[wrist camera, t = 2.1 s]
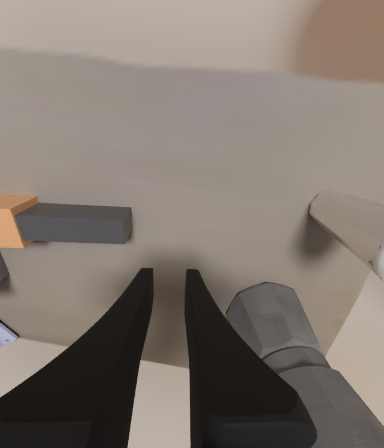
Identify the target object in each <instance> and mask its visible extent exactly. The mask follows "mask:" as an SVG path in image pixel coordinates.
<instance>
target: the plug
mask: <svg viewBox="0 0 384 448" xmlns="http://www.w3.org/2000/svg"><path fill="white" fill-rule="evenodd" d="M131 231H132V214H131V207H111V206H90V205H69V204H49V203H39V202H38V198H37V196H17V195H0V247H3V248H25V247H26V246H27V245H29V244H30V243H32V242H33V241H53V242H82V243H112V244H125V243H126V241H127V239H128V237H129V235H130V233H131Z"/></svg>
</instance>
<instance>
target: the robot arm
mask: <svg viewBox="0 0 384 448" xmlns="http://www.w3.org/2000/svg"><path fill="white" fill-rule="evenodd" d="M153 296H154V293H153V268H141V269H140V270H139V272H138V274H137V275H136V277H135V278H134V279H133V281H132V282H131V284H130V285H129V286H128V287H127V289H126V290H125V291H124V293H123V294H122V295H121V296H120V297H119V299H118V300H117V301H116V302H115V303H114V304H113V305H112V307H111V308H110V309H109V310H108V311H107V312H106V313H105V314H104V315H103V316H102V317H101V318H100V319H99V320H98V321H97V322H96V323H95V324H94V325H93V326H92V327H91V328H90V329H89V330H88V331H87V332H86V333H85V334H83V335H82V336H81V337H80V338H79V339H78V340H77V341H76V342H74V343H73V344H72V345H71V346H70V347H68V348H67V349H66V350H65V351H63V352H62V353H61V354H60V355H59V356H57V357H56V358H55V359H53V360H52V361H51V362H50V363H48V364H47V365H46V366H45V367H43V368H42V369H40V370H39V371H38V372H36V373H35V374H34V375H32V376H31V377H29V378H28V379H27V380H25V381H24V382H22V383H21V384H19V385H18V386H16V387H15V388H14V389H12V390H11V391H9V392H8V393H6V394H5V395H3V396H2V397H0V448H127V447H128V440H129V432H130V424H131V418H132V410H133V404H134V397H135V390H136V384H137V377H138V370H139V365H140V360H141V355H142V351H143V347H144V342H145V338H146V334H147V330H148V326H149V321H150V317H151V312H152V304H153ZM185 324H186V334H187V344H188V354H189V371H190V428H191V429H190V435H191V436H190V438H191V448H311V447H312V446H313V445H314V443H315V441H316V440H317V436H318V435H317V430H316V427H315V425H314V423H313V421H312V419H311V416H310V414H309V412H308V410H307V408H306V407H305V405H304V403H303V401H302V399H301V398H300V396H299V394H298V392H297V391H296V390H295V389H294V388H293V387H291V386H290V385H289V384H288V383H287V382H286V381H285V380H283V379H282V378H281V377H280V376H279V375H278V374H277V373H275V372H274V371H273V370H272V369H271V368H270V367H269V366H268V365H267V364H266V363H265V362H264V361H263V360H262V359H261V358H260V357H259V356H258V355H257V354H256V353H255V352H254V351H253V350H252V349H251V348H250V346H249V345H248V344H247V343H246V342H245V341H244V340H243V339H242V338H241V337H240V335H239V334H238V333H237V332H236V331H235V329H234V328H233V327H232V326H231V324H230V323H229V322H228V320H227V319H226V318H225V316H224V315H223V314H222V312H221V311H220V309H219V308H218V306H217V305H216V303H215V301H214V300H213V298H212V296H211V295H210V293H209V291H208V289H207V288H206V286H205V284H204V282H203V279H202V277H201V275H200V272H199V271H198V270H196V269H187V270H186V284H185ZM17 338H18V337H17V335H15V334H14V333H13V332H12V331H10V330H9V329H8V328H7V327H5V326H4V325H3V324H2V323H0V346H2V345H6V344H9V343H12V342H15V341H16V340H17Z"/></svg>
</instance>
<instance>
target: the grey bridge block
mask: <svg viewBox="0 0 384 448" xmlns="http://www.w3.org/2000/svg"><path fill="white" fill-rule="evenodd" d="M7 275H9V273H8V271H7V268H6V266H5V264H4V261H3V259H2V257H1V254H0V281H1V280H3V279H4V278H5V277H6V276H7Z"/></svg>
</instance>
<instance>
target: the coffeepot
mask: <svg viewBox="0 0 384 448" xmlns="http://www.w3.org/2000/svg"><path fill="white" fill-rule="evenodd" d="M226 314H227V317H228V319H229V321H230V323H231V326H232V327H233V328H234V329H235V331H236V332H237V333H238V334H239V335H240V337H241V338H242V339H243V340H244V341H245V342H246V343H247V344H248V345H249V346H250V348H251V349H252V350H253V351H254V352H255V353H256V354H257V355H258V356H259V357H260V358H261V359H262V360H263V361H264V362H265V363H266V364H267V365H268V366H269V367H270V368H271V369H272V370H273V371H274V372H275V373H277V374H278V375H279V376H280V377H281V378H282V379H283V380H285V381H286V382H287V383H288V384H289V385H290V386H291V387H293V388H294V389H295V390H296V391H297V392H298V394H299V396H300V398H301V399H302V401H303V403H304V405H305V407H306V408H307V410H308V412H309V414H310V416H311V419H312V421H313V423H314V425H315V427H316V430H317V435H318V436H317V440H316V441H315V443H314V445H313V446H312V447H311V448H384V426H383V425H382V424H381V422H380V421H379V420H378V419H377V418H376V416H375V415H374V414H373V413H372V411H371V410H370V409H369V408H368V406H367V405H366V404H365V403H364V402H363V400H362V399H361V398H360V397H359V395H358V394H357V393H356V392H355V391H354V389H353V388H352V387H351V386H350V385H349V383H348V382H347V381H346V380H345V379H344V377H343V376H342V375H341V373H340V372H339V371H336V370H334V369H331V367H330V366H329V364H328V362H327V360H326V359H325V357H324V355H323V352H322V349H321V347H320V344H319V342H318V340H317V338H316V336H315V334H314V331H313V329H312V327H311V325H310V323H309V321H308V318H307V316H306V314H305V312H304V310H303V308H302V305H301V303H300V301H299V299H298V297H297V295H296V292H295V290H294V289H292V288H289V287H286V286H284V285H281V284H276V283H262V284H258V285H254V286H251V287H249V288H247V289H245V290H244V291H242V292H241V293H239V294H238V295H237V296H236V297H235V298H234V300H233V301H232V302H231V305H230V307H229V310H228V312H227V313H226Z"/></svg>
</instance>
